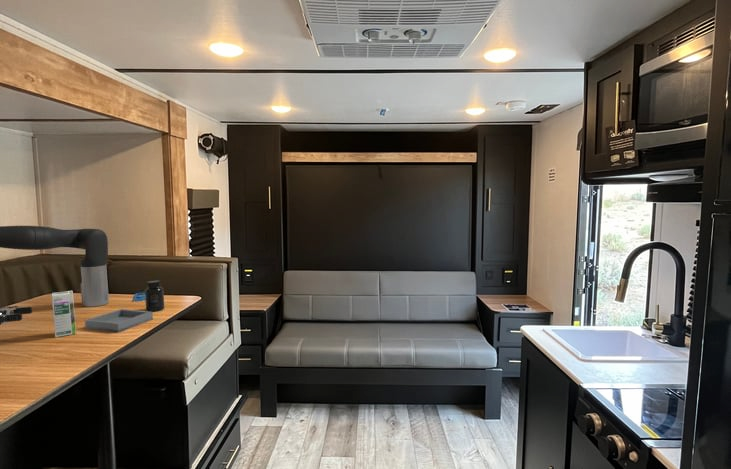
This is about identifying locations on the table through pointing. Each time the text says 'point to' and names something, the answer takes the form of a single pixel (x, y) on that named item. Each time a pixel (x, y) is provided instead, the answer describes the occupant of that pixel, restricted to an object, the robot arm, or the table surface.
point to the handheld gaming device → (139, 297)
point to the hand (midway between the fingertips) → (26, 313)
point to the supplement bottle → (154, 296)
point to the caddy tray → (118, 320)
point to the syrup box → (63, 313)
